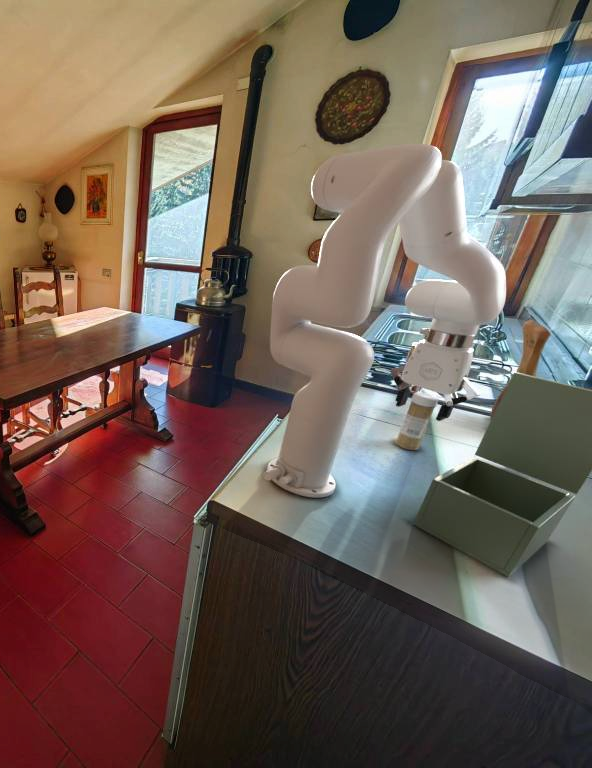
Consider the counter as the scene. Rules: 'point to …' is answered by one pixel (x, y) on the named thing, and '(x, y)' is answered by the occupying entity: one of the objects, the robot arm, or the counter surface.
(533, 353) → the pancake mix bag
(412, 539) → the counter surface
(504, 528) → the green box
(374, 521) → the counter surface
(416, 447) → the sprinkles bottle
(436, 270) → the robot arm
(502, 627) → the counter surface
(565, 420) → the lid
